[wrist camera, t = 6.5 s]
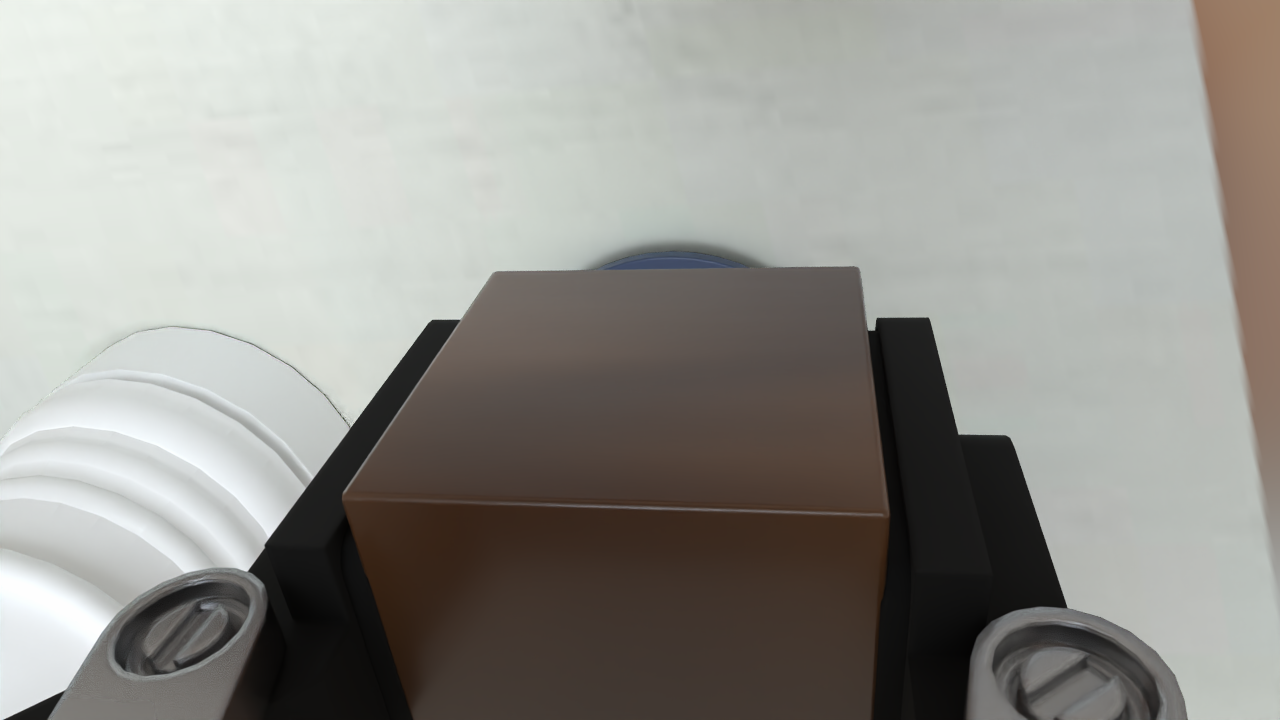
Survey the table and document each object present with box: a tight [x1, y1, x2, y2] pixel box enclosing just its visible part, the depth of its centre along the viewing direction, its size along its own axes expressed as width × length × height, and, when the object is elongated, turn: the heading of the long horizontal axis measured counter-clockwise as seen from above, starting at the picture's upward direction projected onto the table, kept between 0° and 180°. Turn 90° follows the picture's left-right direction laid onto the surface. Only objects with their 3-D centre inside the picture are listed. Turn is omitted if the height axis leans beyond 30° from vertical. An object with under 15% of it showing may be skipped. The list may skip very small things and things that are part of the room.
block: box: [342, 266, 891, 720], centre depth 9 cm, size 4×4×4 cm
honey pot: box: [0, 327, 350, 720], centre depth 32 cm, size 13×13×18 cm
